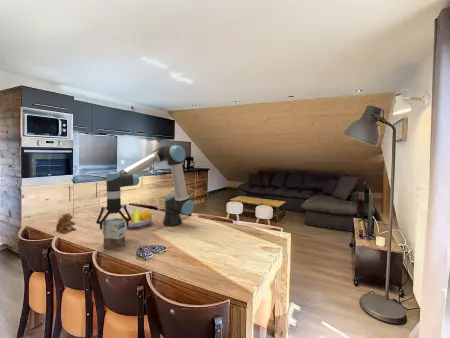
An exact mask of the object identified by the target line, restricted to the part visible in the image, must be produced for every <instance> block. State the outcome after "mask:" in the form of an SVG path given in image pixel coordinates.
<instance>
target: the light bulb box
mask: <svg viewBox="0 0 450 338" xmlns="http://www.w3.org/2000/svg"><path fill="white" fill-rule="evenodd" d="M103 224H104V235H103V239H104V238H111V239H120V238H122V237H124V236H125V237H126V232H125V219H119V217H118V218H116V217H109V218H106V219H105V220H104V222H103Z"/></svg>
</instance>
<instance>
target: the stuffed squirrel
mask: <svg viewBox="0 0 450 338" xmlns="http://www.w3.org/2000/svg"><path fill="white" fill-rule="evenodd" d="M72 219H74V216H73V215H72V214H71V213H69V212H68V213H64V214H61V216H60V217H59V219H58V221H57V224H56V226H55V230H56V232H59V231H60V234H64V235H67V234H68V233H69V232H71V231H76V230H77V227H73V226H75V225H76V222H75V221H72Z"/></svg>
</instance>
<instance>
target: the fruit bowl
mask: <svg viewBox="0 0 450 338" xmlns="http://www.w3.org/2000/svg"><path fill="white" fill-rule="evenodd" d="M128 213H129V215H130V217H131V220H129V221H128V226H127V228H130V229H136V228H142V227H144V226H146V225H149V224H150V223H151V222H152V220H153V217H154V215H152V213H150V212H149V210H143V211H142V212H141V213H140V210H139V209H138V206H136V207H135V210H134V212H133V213H130V212H128ZM123 214H124V215H125V216H126V217H127V218H128V216H127V214H126V212H125V213H123ZM118 219H124V218H123V217H122V216H121V215H120V216H119V217H118ZM125 221H126V220H125ZM132 221H133V223H131V222H132Z"/></svg>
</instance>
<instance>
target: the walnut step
mask: <svg viewBox="0 0 450 338" xmlns="http://www.w3.org/2000/svg"><path fill="white" fill-rule="evenodd" d="M124 246H126V236H124V237H122V238H120V239H111V238H104V237H103V249H104V250H105V249H111V248H118V247H124Z"/></svg>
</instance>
